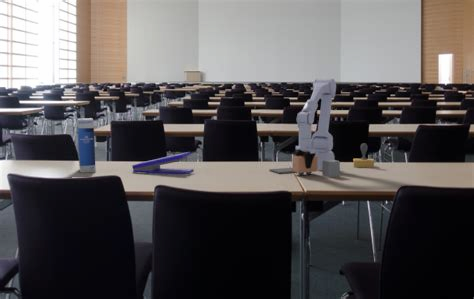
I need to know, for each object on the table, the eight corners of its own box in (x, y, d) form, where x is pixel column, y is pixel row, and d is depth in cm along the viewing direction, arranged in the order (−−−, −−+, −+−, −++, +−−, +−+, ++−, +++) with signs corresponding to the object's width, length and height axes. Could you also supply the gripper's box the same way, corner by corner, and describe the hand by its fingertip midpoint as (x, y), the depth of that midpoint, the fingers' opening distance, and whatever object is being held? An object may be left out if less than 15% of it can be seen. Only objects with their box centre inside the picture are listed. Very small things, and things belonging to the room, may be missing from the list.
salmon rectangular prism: (311, 169, 250) (311, 154, 249) (317, 171, 245) (317, 156, 244) (292, 171, 246) (292, 156, 245) (298, 173, 241) (298, 157, 240)
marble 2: (309, 173, 248) (309, 167, 248) (313, 174, 245) (313, 168, 245) (304, 174, 247) (304, 167, 247) (307, 175, 244) (307, 168, 244)
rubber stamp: (373, 166, 270) (373, 142, 269) (373, 167, 265) (374, 143, 263) (353, 165, 272) (353, 142, 271) (353, 167, 267) (354, 143, 265)
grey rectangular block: (332, 174, 245) (333, 159, 244) (339, 176, 240) (339, 161, 239) (322, 175, 243) (322, 160, 242) (328, 177, 238) (329, 161, 237)
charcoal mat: (291, 169, 262) (291, 167, 262) (301, 172, 253) (301, 170, 253) (269, 170, 257) (269, 169, 257) (278, 174, 248) (278, 172, 248)
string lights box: (96, 172, 258) (93, 119, 255) (79, 173, 256) (77, 119, 253) (94, 168, 271) (92, 117, 268) (79, 169, 269) (76, 118, 266)
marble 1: (302, 174, 247) (302, 168, 246) (305, 175, 244) (305, 168, 244) (296, 174, 246) (296, 168, 245) (299, 175, 243) (299, 169, 242)
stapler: (186, 175, 250) (186, 154, 248) (131, 173, 256) (130, 153, 255) (194, 171, 261) (193, 151, 260) (141, 169, 267) (140, 150, 266)
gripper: (289, 136, 249) (289, 165, 250) (305, 139, 235) (305, 170, 237) (303, 136, 251) (303, 164, 253) (319, 139, 238) (318, 168, 240)
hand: (304, 167), depth 245 cm, fingers closed on salmon rectangular prism, 6 cm apart
